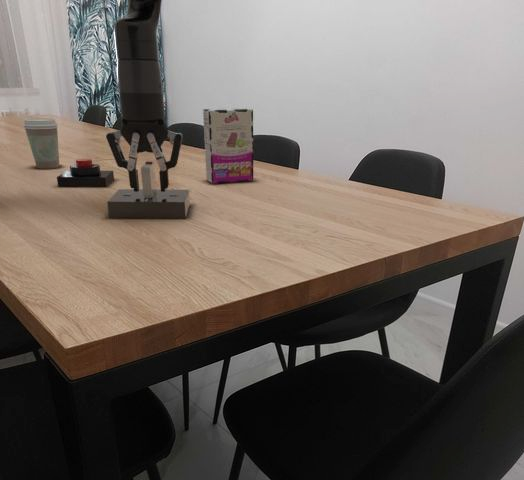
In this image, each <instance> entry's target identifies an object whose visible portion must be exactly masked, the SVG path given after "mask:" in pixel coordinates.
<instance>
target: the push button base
mask: <svg viewBox="0 0 524 480" xmlns="http://www.w3.org/2000/svg"><path fill="white" fill-rule="evenodd" d="M92 164H93V166H91V167H77V165H76V163H75V164H71V165H69V169H68V170H66V171H64V172H62V173H61V174H59V175H58V176H56V182H57V187H58V188H107V187H109V185H111V184H112V183H113V182H114V181H115V175H114V173H115V172H114V170H101V167H100V166H101V165H100V164H98V163H92Z"/></svg>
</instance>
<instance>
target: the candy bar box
mask: <svg viewBox="0 0 524 480" xmlns="http://www.w3.org/2000/svg"><path fill="white" fill-rule="evenodd" d="M202 114H203V115H202V117H203V131H204V132H203V135H204V155H205V173H206V175H205V176H206V177H205V178H206V182H208V183H210V184H213V185H218V184H219V185H220V184H231V183H243V182H245V183H246V182H254V108H248V107H229V108H228V107H227V108H206V109H205V108H204V109H202Z"/></svg>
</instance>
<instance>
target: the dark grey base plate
mask: <svg viewBox="0 0 524 480" xmlns="http://www.w3.org/2000/svg"><path fill="white" fill-rule="evenodd" d="M190 199H191V198H190V189H166V190H165V192H161V188H159V189H157V188H156V193H155V195H154V196H153V198H144V196H143V188H141V189H140V188H139V191H138V192H134V188H130V189H129V188H119V189H118V190H117V191H116V192H114V193H113V195H112V196H111V197H110V198H109V199H108V200H107V202H106V204H107V212H108V218H109V219H187V215H188V212H189V209H190V206H191V200H190Z"/></svg>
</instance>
